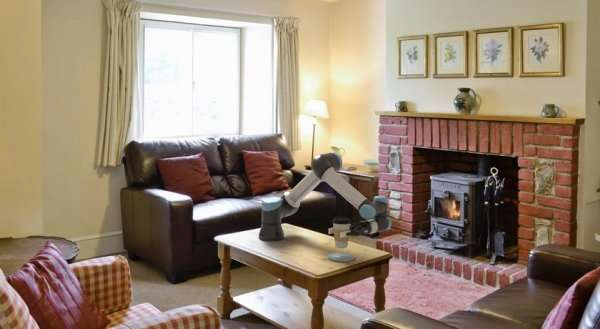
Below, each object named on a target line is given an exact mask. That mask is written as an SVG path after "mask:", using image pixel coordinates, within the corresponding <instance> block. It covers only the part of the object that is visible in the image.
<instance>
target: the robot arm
mask: <svg viewBox="0 0 600 329" xmlns="http://www.w3.org/2000/svg"><path fill="white" fill-rule="evenodd" d="M310 166H311V168H310V169H311V171H309V172H308V173H307V174H306V175H305V176H304V177H303V178H302V179H301V181H299V182H298V183H297V184H296V185H295V186H294V187H293V188H292V189H291V190H290V191H286V192H284V194H282V196H280V197H277V196H271V197H266V198H264V199H263V200H261V226H260V229H259V232H258V238H259V240H261V241H267V242H268V241H269V242H275V241H276V242H277V241H282V240H283V239H285V232H284V228H283V226H282V218H286V217H289V216H292V215H294V214H295V213H296V212H297V211H298V210H299V207H300V205H301V202H302V201H303V200H304V199H305V198H306V197H307V196H308V195H309V194H310V193H311V192H312V191H313V190H314V189H315V188H316V187H317V186H318V185H320V183H321V182H325V183H327V184H328V185H329V186H330V187H331V188H332V189H334V190H335V191H336V192H337V193H338V194H339V195H341V197H343V198H344V199H345V200H346V201H347V202H349V203H350V204H351V205H353V207H354V208H355V209H357V210H358V211H359V215H360V217H361V218H362V219H365V220H360V221H359V222H358V223H357V224H352V223H350V231H344V232H340V238H342V237H347V236H349V237H351V236H352V237H353V236H354V237H358V236H365V235H369V234H370V235H373V234H374V233H380V232H381V233H382V232H386V231H388V230H390V229H391V227H392V225H393V224H392V223H393V222H392V220H391V219H390V217H388V204H389V203H388V197H387V196H384V195H376V196H374V197H373V201H372V202H371V201H370V200H369V199H368V198H367V197H365V195H363V194H362V193H361V192H360V191H359V190H357V189H356V188H355V187H354V186H352V184H350V183H349V182H348V181H347V180H346V179H344V178H343V177H342V176H341V175H339V173H338V172H339V171H341V170H342V167H343V159H342V157H341V156H340V155H339V154H338V153H336V152H328V153H320V154H317V155H316V156H315V157H313V159H312V160H311V164H310ZM328 234H329V235H330V234H334V230H333V227H331V228H329V227H328Z"/></svg>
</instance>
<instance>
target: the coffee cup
mask: <svg viewBox="0 0 600 329" xmlns="http://www.w3.org/2000/svg"><path fill="white" fill-rule="evenodd" d="M331 223H332V224H333V227H332V228H333V230H334V233H333V238H334V244H335V245H334V246H335V248H336V249H347V248H348V245H349V243H348V242H349V239H350V236H347V237H342V238H340V232H344V231H350V224H352V221H351V218H350V217H346V216H336V217H333V220H332V222H331Z"/></svg>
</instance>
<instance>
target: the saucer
mask: <svg viewBox="0 0 600 329" xmlns="http://www.w3.org/2000/svg"><path fill="white" fill-rule="evenodd" d="M327 260H329V261H331V262H335V263H337V262H338V263H349V262H352V261H354V260H355V255H354V254H352V253H349V252H344V251H343V252H342V251H336V252H330V253H327Z"/></svg>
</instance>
